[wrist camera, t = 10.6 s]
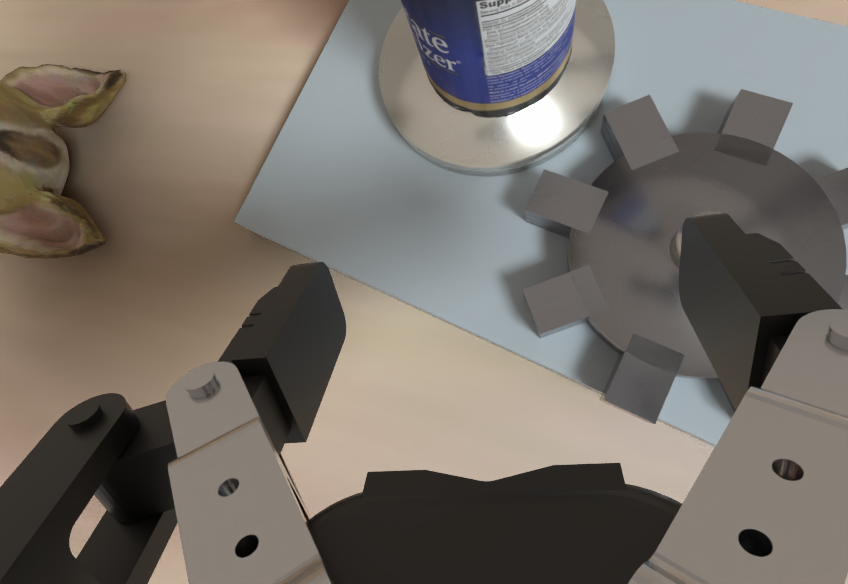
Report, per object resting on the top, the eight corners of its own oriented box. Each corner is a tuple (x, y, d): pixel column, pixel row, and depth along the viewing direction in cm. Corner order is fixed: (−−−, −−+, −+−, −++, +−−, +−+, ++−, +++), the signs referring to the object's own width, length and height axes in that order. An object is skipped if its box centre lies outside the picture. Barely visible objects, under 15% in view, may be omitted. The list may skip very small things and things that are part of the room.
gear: (935, 169, 19) (998, 133, 16) (804, 495, 18) (849, 513, 15) (596, 72, 22) (603, 30, 20) (471, 339, 21) (460, 331, 19)
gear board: (912, 71, 21) (939, 47, 19) (751, 463, 20) (767, 468, 18) (397, -54, 28) (389, -79, 26) (250, 231, 26) (233, 221, 25)
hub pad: (649, 3, 22) (654, -19, 21) (553, 209, 22) (553, 199, 20) (442, -47, 25) (437, -68, 24) (350, 134, 24) (341, 121, 23)
